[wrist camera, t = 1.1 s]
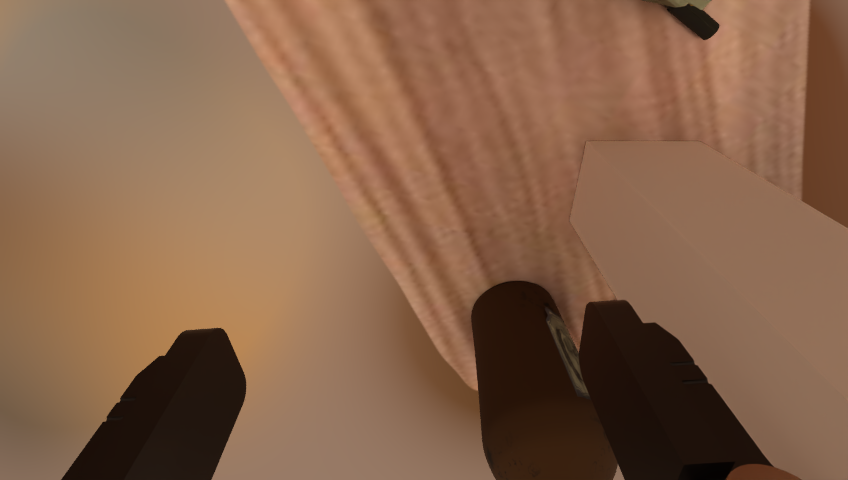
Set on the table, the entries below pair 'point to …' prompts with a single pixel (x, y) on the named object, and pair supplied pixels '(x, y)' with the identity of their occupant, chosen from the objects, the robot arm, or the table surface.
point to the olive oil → (534, 391)
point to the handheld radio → (692, 15)
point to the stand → (730, 286)
